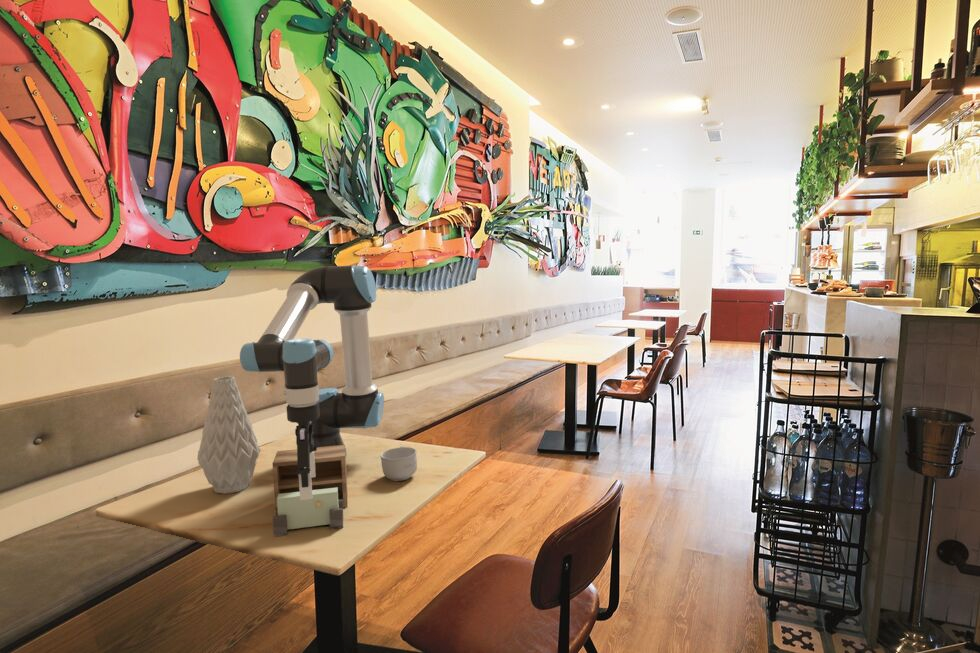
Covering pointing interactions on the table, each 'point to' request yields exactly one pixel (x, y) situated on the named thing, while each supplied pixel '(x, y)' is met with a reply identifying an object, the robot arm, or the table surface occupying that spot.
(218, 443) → the vase
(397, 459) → the teacup
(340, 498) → the wooden shelf unit
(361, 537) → the table surface
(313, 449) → the robot arm
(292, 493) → the door
